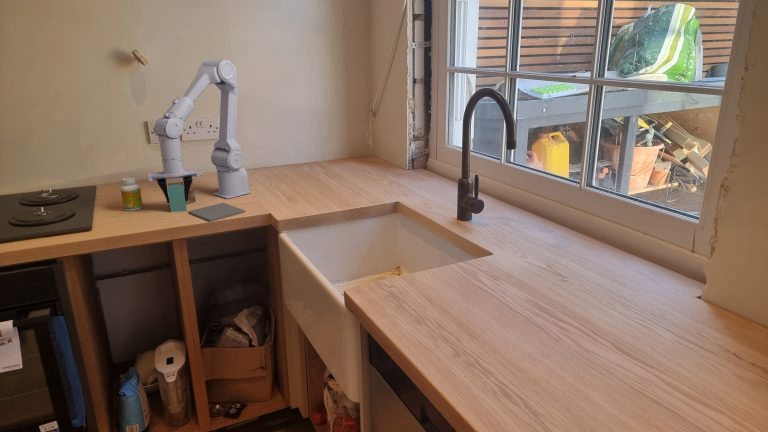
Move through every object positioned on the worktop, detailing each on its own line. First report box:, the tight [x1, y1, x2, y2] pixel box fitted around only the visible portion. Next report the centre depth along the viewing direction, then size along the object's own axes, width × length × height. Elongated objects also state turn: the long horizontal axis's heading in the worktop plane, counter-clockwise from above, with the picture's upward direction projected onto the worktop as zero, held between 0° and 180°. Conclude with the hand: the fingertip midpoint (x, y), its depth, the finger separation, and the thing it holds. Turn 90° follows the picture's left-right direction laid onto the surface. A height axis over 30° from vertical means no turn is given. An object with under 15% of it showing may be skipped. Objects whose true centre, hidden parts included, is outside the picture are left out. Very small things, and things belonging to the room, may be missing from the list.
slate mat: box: [188, 202, 246, 222], centre depth 158 cm, size 12×12×1 cm
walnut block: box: [184, 188, 197, 206], centre depth 168 cm, size 4×4×4 cm
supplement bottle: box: [120, 176, 143, 212], centre depth 161 cm, size 5×5×10 cm
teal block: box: [167, 181, 187, 213], centre depth 160 cm, size 4×4×8 cm
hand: (177, 201), depth 161 cm, fingers closed on teal block, 5 cm apart
